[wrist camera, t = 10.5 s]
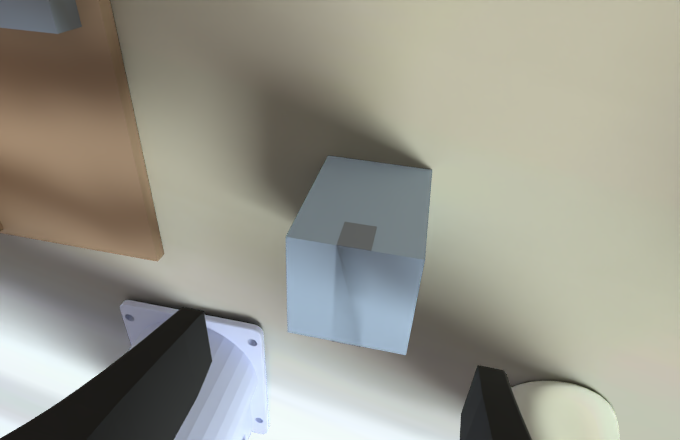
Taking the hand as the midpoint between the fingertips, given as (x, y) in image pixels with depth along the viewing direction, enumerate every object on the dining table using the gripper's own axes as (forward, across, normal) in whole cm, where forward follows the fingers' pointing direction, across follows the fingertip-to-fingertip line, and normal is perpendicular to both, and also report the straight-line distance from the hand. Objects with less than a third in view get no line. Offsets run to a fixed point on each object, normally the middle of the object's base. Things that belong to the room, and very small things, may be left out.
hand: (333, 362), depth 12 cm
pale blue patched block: (+8, 0, 0) cm, 8 cm away
